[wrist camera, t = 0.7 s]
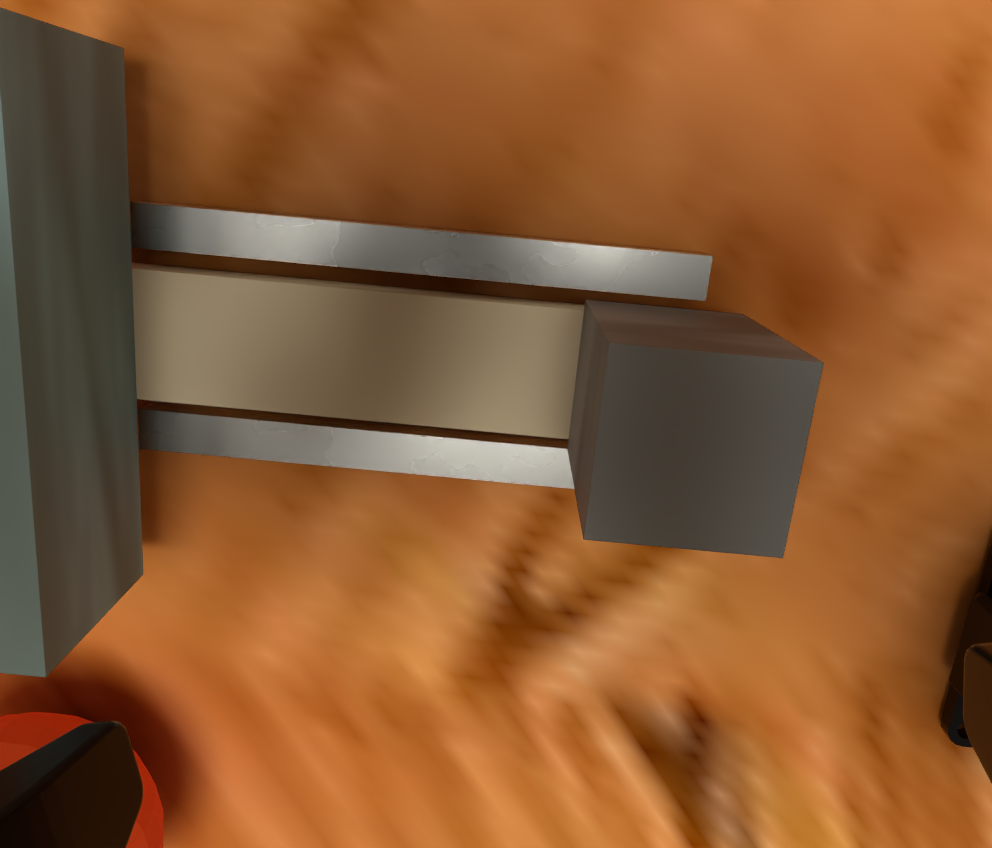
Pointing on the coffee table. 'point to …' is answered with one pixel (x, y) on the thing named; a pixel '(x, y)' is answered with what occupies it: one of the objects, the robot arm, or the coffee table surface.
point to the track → (404, 254)
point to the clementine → (32, 730)
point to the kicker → (324, 369)
